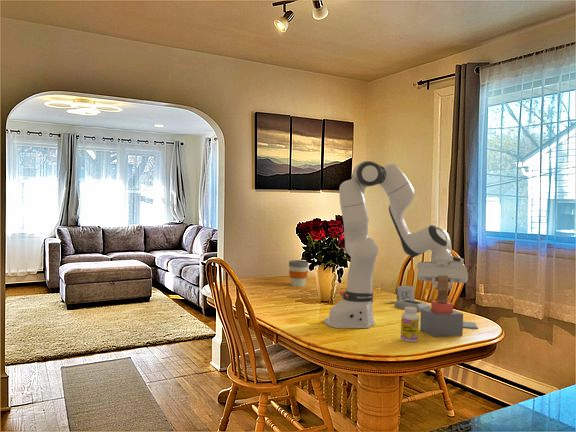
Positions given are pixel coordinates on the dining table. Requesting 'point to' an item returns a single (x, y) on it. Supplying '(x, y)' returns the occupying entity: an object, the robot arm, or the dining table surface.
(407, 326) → the supplement bottle
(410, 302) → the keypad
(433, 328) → the gray socket block
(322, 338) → the dining table surface
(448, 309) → the button
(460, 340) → the dining table surface
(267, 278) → the dining table surface
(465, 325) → the pad
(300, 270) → the reusable coffee cup
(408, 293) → the electrical switch
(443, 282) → the brown wooden block
